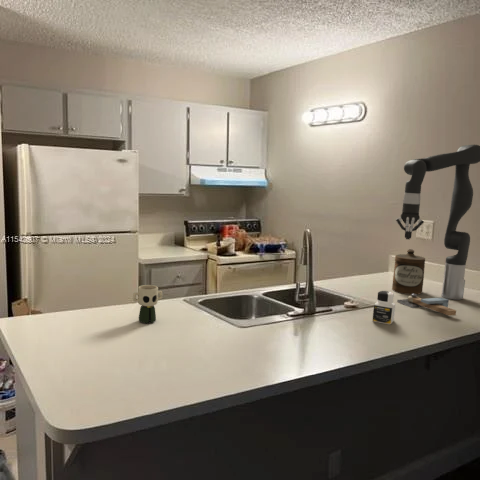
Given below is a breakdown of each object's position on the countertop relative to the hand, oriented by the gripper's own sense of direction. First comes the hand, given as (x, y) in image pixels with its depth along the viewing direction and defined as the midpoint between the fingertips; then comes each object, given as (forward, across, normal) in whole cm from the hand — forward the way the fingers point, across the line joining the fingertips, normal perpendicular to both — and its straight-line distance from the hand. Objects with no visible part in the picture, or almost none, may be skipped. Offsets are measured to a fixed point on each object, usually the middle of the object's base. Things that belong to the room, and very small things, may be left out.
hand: (407, 239), depth 223 cm
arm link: (+28, +10, -17) cm, 34 cm away
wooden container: (+29, +5, +18) cm, 35 cm away
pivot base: (+29, +4, -9) cm, 31 cm away
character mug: (+29, -98, -78) cm, 129 cm away
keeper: (+29, +12, -17) cm, 36 cm away
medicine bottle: (+29, -12, -42) cm, 53 cm away
